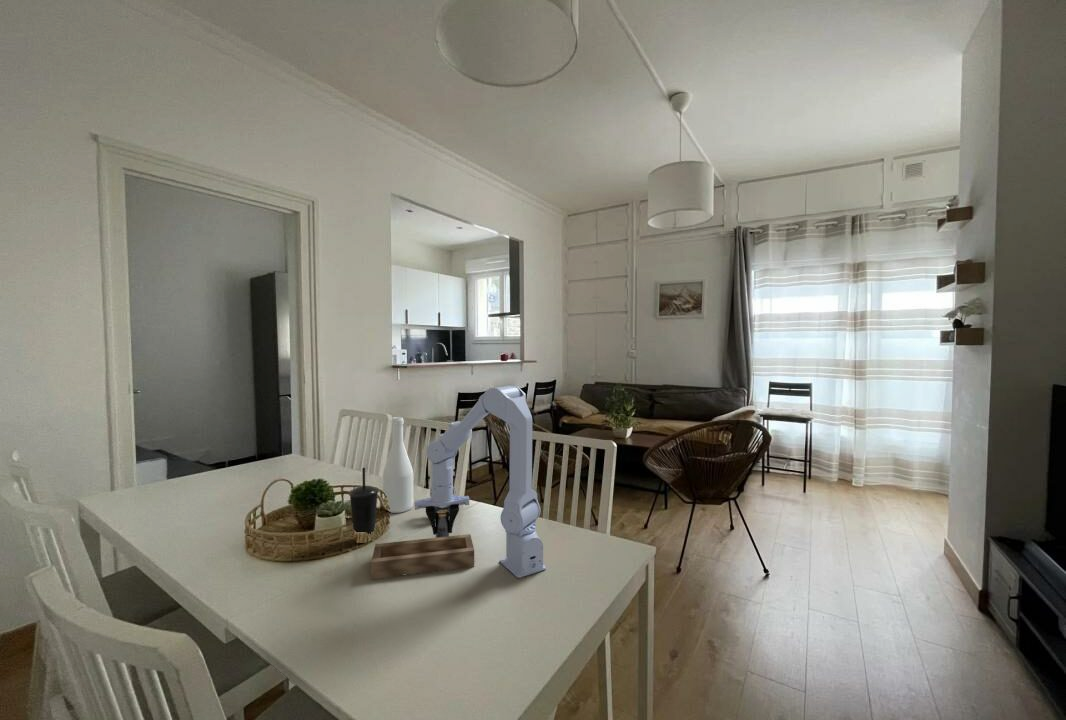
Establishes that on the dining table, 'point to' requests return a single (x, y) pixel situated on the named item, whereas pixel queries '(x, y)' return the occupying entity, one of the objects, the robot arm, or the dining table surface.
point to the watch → (442, 506)
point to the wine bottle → (398, 472)
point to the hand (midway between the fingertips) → (442, 532)
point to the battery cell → (442, 523)
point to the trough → (422, 556)
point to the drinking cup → (364, 506)
